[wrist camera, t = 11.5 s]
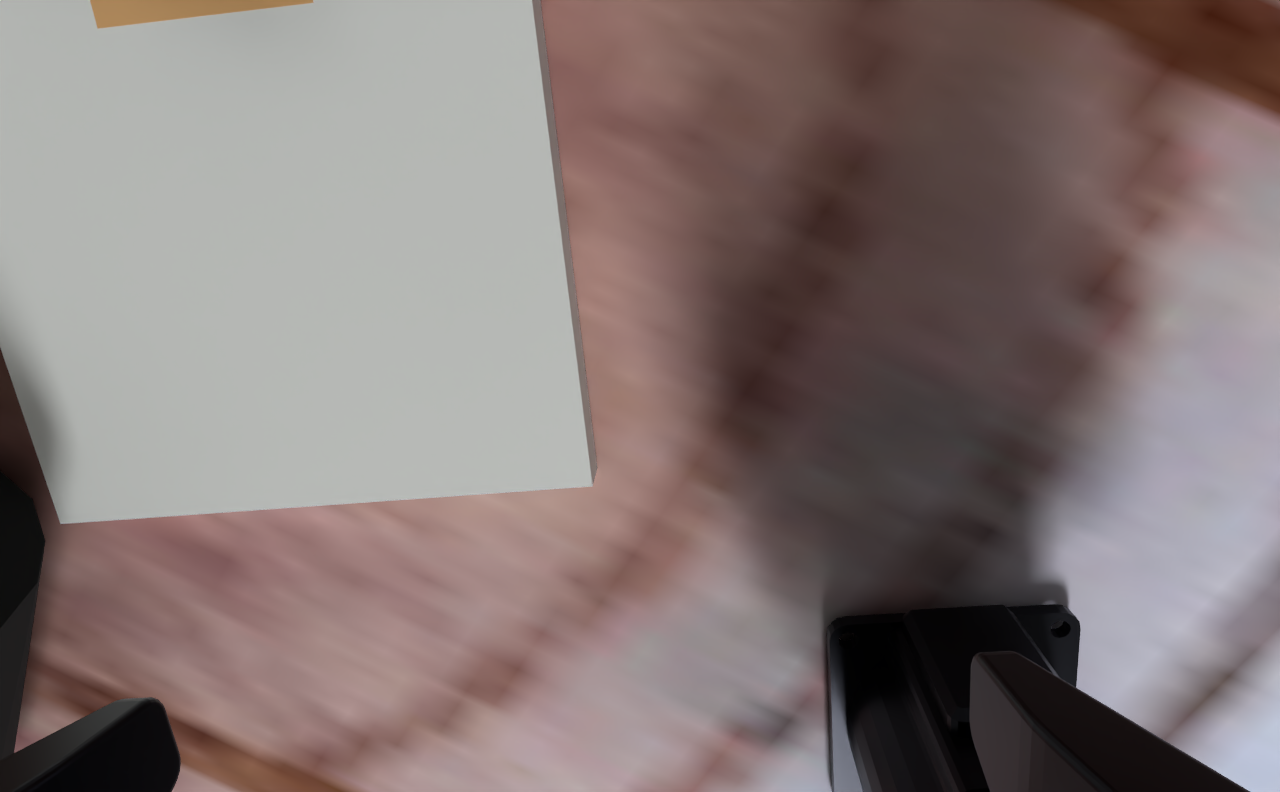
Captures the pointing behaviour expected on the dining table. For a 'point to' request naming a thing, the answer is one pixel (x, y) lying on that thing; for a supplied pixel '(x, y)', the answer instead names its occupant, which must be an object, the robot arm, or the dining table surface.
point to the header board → (286, 254)
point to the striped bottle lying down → (16, 600)
